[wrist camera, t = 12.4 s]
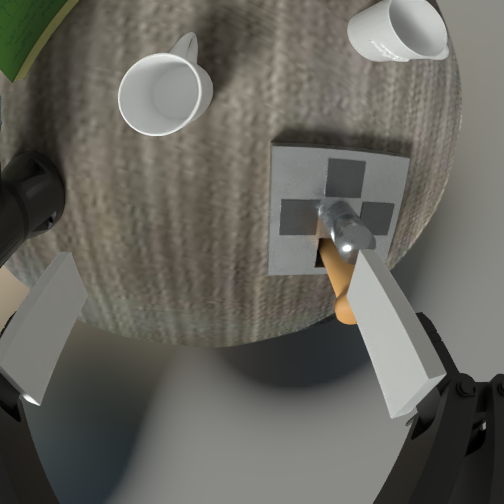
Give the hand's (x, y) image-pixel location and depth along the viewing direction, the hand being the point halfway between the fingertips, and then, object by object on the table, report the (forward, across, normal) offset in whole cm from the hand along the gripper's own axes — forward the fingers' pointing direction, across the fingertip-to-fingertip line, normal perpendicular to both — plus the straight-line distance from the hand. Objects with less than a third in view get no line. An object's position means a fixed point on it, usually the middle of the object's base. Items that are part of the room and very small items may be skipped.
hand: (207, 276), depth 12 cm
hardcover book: (+29, -36, +32) cm, 56 cm away
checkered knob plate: (+28, +16, -10) cm, 33 cm away
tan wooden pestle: (+28, +16, -16) cm, 35 cm away
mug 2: (+28, +21, +18) cm, 39 cm away
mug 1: (+28, -6, +9) cm, 30 cm away
